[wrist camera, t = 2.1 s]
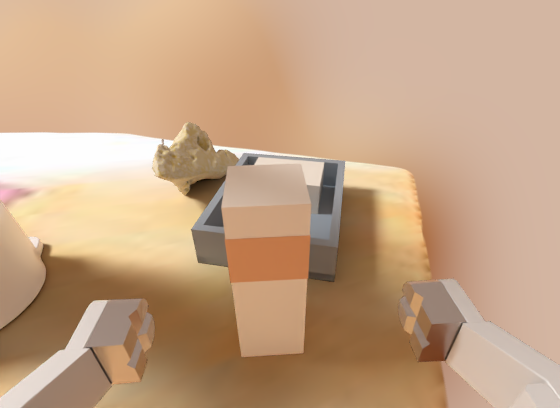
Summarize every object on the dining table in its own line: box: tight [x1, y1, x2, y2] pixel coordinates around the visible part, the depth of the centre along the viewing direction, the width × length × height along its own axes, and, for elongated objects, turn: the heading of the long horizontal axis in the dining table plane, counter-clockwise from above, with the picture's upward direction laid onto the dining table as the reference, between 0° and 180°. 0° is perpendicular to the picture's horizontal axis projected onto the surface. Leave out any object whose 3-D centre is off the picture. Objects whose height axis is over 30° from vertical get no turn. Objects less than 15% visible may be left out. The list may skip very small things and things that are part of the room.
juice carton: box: [221, 163, 311, 357], centre depth 27 cm, size 6×6×16 cm
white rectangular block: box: [254, 157, 324, 214], centre depth 47 cm, size 10×7×4 cm
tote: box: [191, 153, 345, 282], centre depth 44 cm, size 16×20×5 cm
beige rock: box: [152, 122, 239, 195], centre depth 52 cm, size 15×7×15 cm
